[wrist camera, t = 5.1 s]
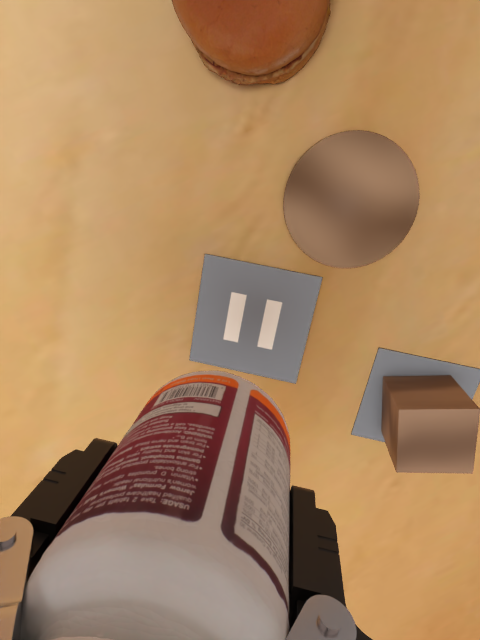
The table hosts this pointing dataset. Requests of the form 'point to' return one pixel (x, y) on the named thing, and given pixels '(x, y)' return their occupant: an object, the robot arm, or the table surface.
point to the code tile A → (253, 317)
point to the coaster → (351, 199)
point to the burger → (254, 36)
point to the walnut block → (429, 424)
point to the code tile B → (403, 366)
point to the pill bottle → (177, 526)
